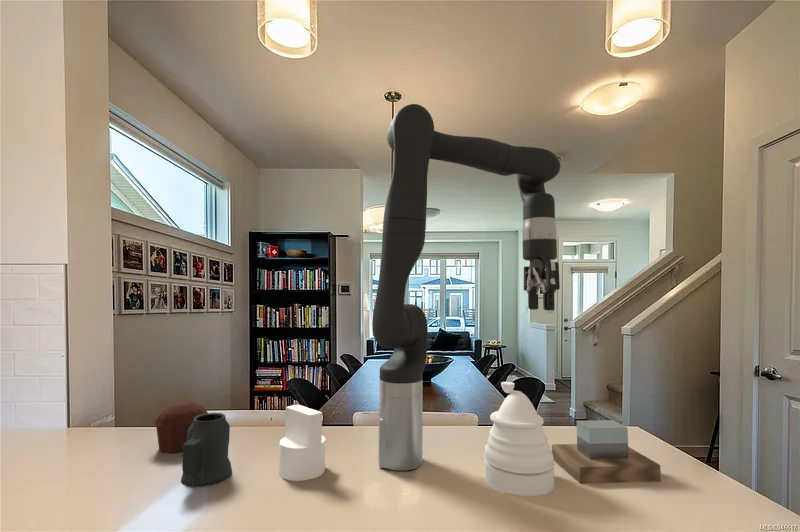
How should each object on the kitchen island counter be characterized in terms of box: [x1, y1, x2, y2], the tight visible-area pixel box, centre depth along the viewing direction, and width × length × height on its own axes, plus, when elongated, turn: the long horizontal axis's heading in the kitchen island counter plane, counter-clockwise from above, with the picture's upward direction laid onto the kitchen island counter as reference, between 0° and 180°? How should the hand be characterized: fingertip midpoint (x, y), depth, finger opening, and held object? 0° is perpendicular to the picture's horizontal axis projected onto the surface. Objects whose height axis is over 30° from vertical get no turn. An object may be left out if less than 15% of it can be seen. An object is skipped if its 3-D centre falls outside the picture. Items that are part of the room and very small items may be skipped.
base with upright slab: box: [278, 404, 326, 482], centre depth 83 cm, size 9×9×12 cm
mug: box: [180, 412, 233, 488], centre depth 79 cm, size 12×9×11 cm
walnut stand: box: [551, 443, 662, 484], centre depth 84 cm, size 16×12×3 cm
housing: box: [576, 419, 629, 459], centre depth 85 cm, size 5×8×6 cm, turn 94°
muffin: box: [153, 400, 208, 455], centre depth 96 cm, size 12×11×10 cm
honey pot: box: [483, 381, 555, 497], centre depth 80 cm, size 13×13×18 cm
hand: (540, 309), depth 94 cm, fingers open, 8 cm apart
